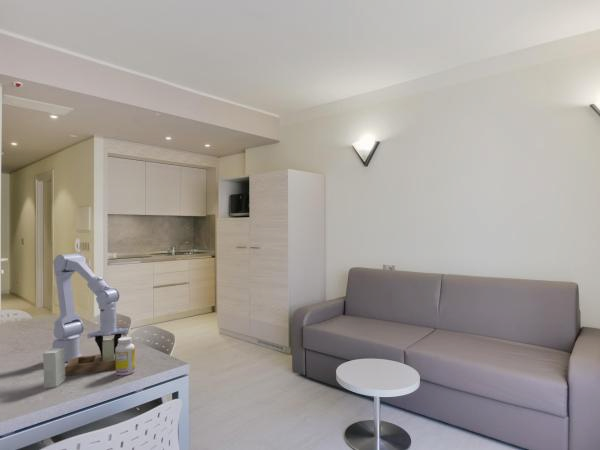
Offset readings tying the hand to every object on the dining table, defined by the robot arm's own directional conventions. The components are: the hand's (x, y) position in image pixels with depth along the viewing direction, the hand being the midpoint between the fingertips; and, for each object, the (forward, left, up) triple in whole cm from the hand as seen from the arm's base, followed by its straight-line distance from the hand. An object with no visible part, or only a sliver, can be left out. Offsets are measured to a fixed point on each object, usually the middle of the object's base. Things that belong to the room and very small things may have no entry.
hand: (108, 354), depth 152 cm
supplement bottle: (+7, -11, -5) cm, 14 cm away
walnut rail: (-4, 0, -4) cm, 6 cm away
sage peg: (0, 0, -3) cm, 3 cm away
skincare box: (-16, -13, -5) cm, 21 cm away
